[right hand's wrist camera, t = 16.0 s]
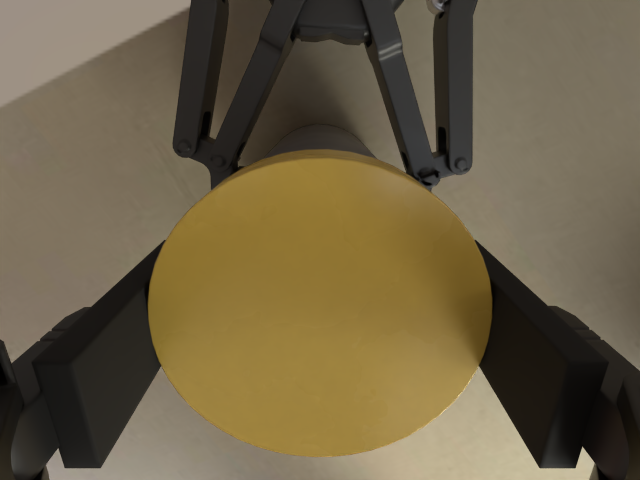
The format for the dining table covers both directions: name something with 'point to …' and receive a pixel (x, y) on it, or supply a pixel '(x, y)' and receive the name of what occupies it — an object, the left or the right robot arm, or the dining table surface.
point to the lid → (320, 304)
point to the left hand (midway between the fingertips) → (315, 278)
